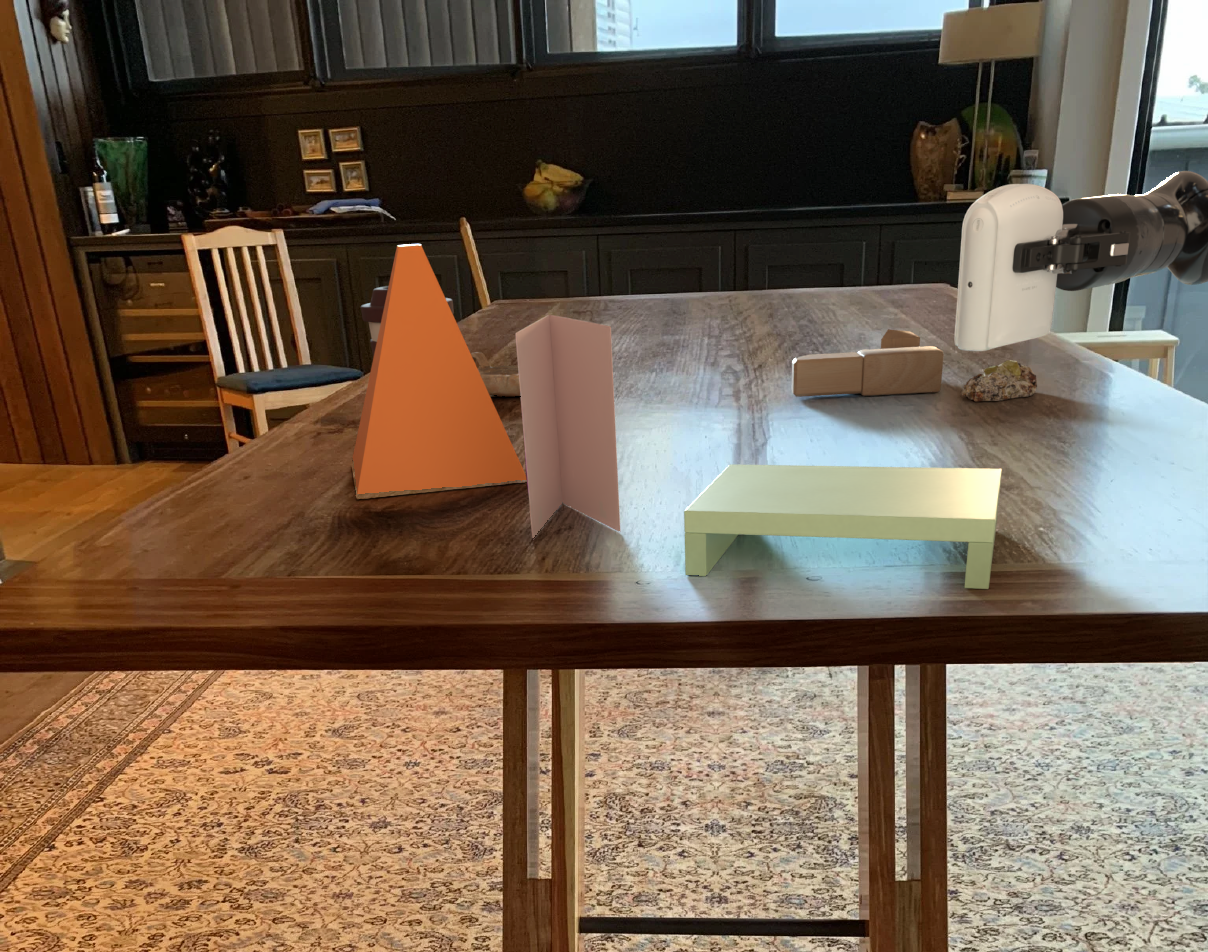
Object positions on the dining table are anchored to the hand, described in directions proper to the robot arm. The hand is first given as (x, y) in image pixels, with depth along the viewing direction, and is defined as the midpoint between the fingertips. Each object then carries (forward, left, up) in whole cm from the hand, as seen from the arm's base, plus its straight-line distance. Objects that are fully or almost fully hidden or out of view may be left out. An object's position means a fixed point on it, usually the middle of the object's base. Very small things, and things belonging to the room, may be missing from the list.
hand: (991, 258), depth 99 cm
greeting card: (+8, +36, -17) cm, 41 cm away
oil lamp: (+68, +10, -17) cm, 71 cm away
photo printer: (0, -3, -7) cm, 8 cm away
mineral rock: (+21, -28, -17) cm, 39 cm away
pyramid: (+33, +37, -17) cm, 53 cm away
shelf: (-13, +27, -17) cm, 34 cm away
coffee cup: (+55, +28, -17) cm, 64 cm away
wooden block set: (+38, -23, -17) cm, 48 cm away
